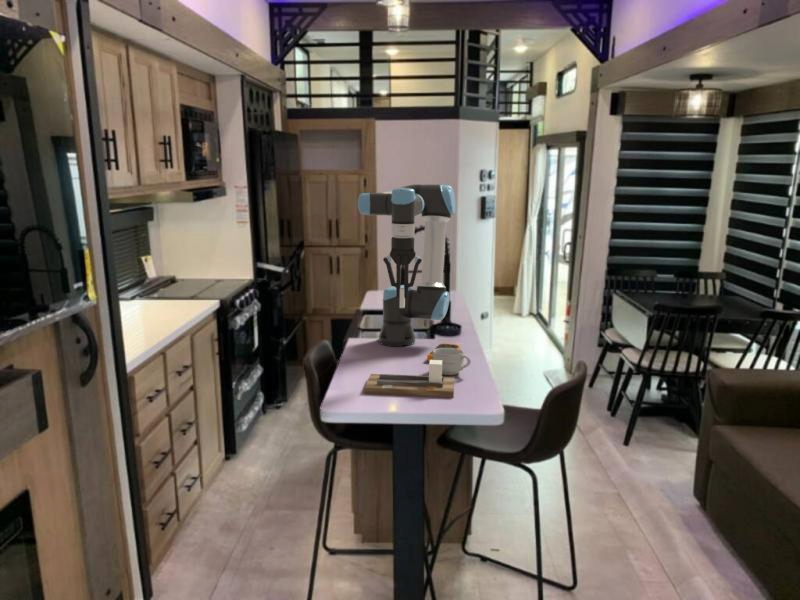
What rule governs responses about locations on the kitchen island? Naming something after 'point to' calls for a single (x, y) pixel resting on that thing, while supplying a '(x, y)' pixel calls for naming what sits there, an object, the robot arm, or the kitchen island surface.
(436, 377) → the switch knob
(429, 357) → the multimeter
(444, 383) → the wooden slider track
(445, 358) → the teacup
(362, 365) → the kitchen island surface
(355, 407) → the kitchen island surface
